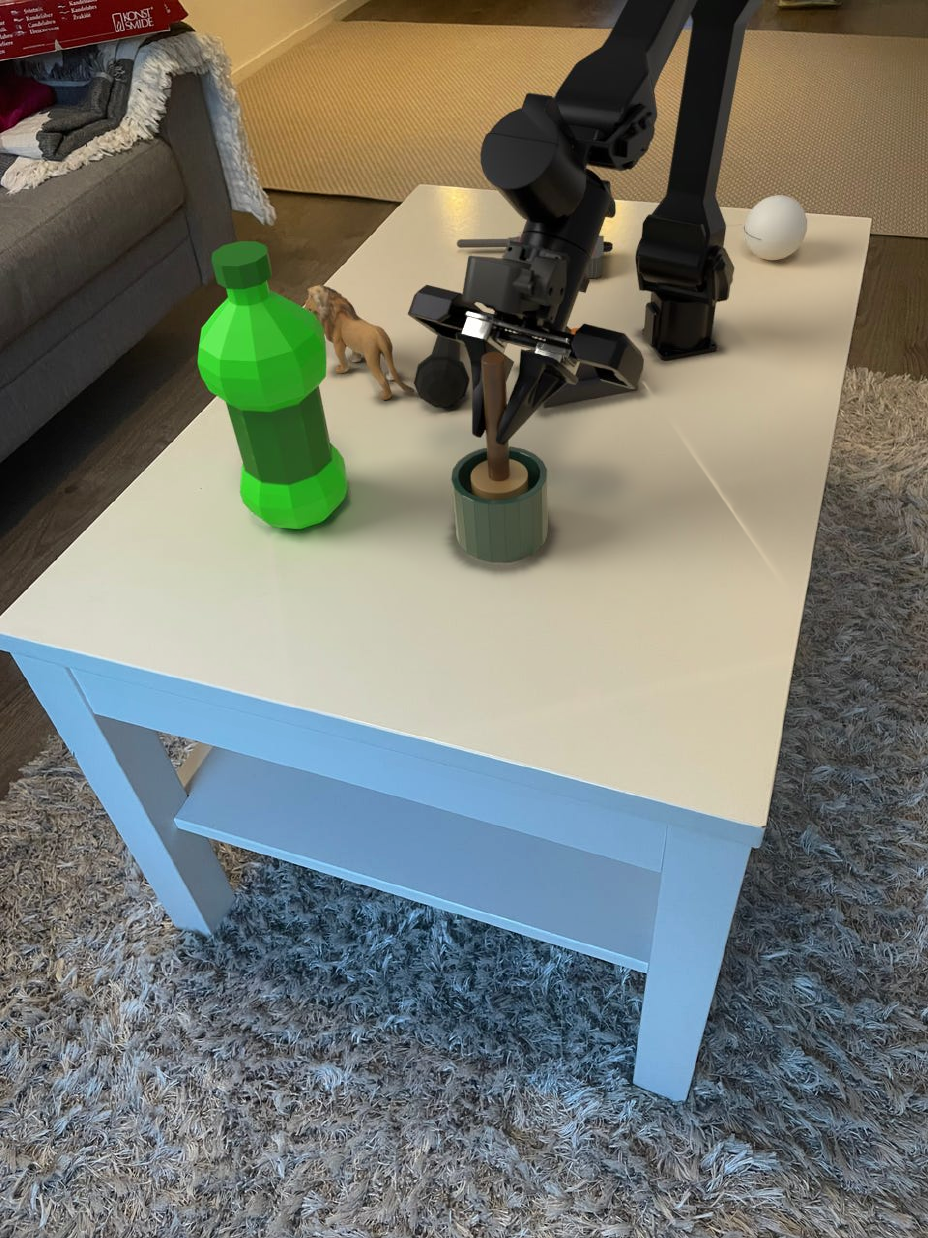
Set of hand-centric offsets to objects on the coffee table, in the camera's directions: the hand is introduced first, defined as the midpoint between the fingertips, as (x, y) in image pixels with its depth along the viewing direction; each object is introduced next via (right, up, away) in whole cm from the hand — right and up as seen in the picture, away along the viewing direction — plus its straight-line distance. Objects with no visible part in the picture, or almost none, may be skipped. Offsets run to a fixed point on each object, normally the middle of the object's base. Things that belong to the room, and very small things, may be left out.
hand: (487, 439), depth 77 cm
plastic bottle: (-17, -5, +13) cm, 22 cm away
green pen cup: (+1, -7, +9) cm, 11 cm away
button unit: (+10, +11, +26) cm, 30 cm away
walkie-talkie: (+7, +31, +45) cm, 55 cm away
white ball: (+35, +31, +43) cm, 63 cm away
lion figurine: (-13, +12, +29) cm, 35 cm away
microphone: (-3, +13, +29) cm, 32 cm away
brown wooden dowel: (+1, -5, +6) cm, 8 cm away
